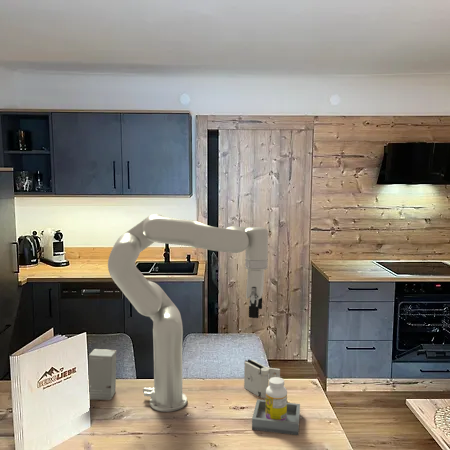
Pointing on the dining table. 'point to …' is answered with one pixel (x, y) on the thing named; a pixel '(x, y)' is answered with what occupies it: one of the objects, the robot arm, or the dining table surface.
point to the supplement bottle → (276, 399)
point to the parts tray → (276, 425)
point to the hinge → (258, 377)
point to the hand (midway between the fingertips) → (255, 313)
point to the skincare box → (102, 374)
